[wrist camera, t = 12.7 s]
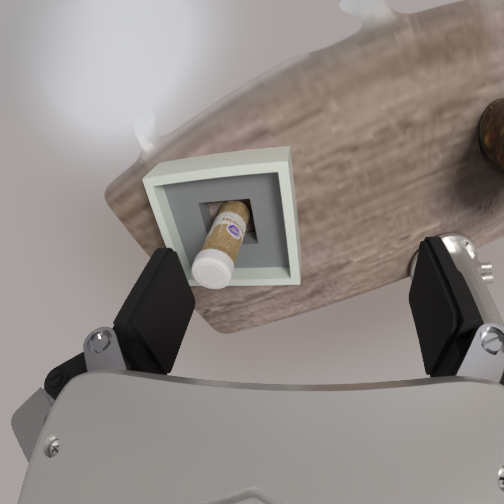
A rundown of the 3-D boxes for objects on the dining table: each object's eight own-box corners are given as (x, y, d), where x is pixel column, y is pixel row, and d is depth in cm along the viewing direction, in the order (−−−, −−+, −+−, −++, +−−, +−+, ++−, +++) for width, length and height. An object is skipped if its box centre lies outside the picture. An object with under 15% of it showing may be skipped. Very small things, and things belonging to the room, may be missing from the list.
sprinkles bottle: (256, 207, 42) (238, 271, 32) (242, 231, 45) (221, 296, 35) (226, 193, 42) (198, 252, 31) (214, 217, 44) (185, 279, 34)
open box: (289, 146, 36) (287, 161, 32) (301, 259, 47) (300, 284, 42) (159, 162, 40) (142, 179, 36) (192, 263, 51) (181, 285, 46)
